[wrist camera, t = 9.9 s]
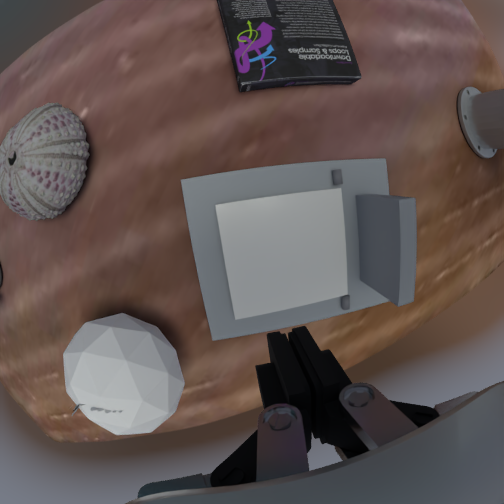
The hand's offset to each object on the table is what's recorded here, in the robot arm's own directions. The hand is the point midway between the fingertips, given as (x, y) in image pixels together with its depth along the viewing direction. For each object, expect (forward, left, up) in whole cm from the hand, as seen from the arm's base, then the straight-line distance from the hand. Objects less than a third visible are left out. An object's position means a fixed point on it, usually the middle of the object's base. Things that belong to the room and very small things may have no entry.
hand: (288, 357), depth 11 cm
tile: (-4, 0, -17) cm, 17 cm away
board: (-6, 0, -19) cm, 20 cm away
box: (-8, -28, -20) cm, 35 cm away
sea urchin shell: (+21, -15, -19) cm, 32 cm away
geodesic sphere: (+15, +9, -19) cm, 26 cm away
